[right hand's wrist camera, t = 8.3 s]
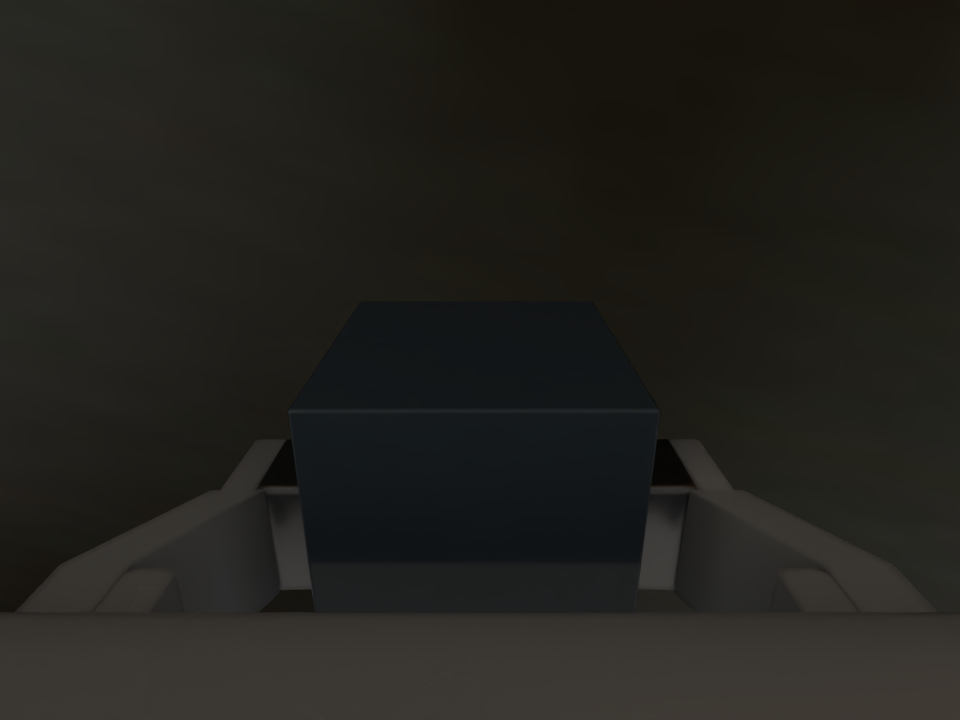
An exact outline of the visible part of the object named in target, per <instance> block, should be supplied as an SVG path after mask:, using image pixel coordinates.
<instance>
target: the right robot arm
mask: <svg viewBox="0 0 960 720" xmlns="http://www.w3.org/2000/svg"><path fill="white" fill-rule="evenodd" d="M297 589H311V582H310V574H309V567H308V559H307V552H306V544H305V537H304V529H303V522H302V514H301V507H300V499H299V491H298V484H297V476H296V469H295V461H294V454H293V446H292V439H290V440H288V439H260V440H256V441H255V442H254V443H253V445H252V446H251V447H250V449H249V450H248V452H247V453H246V454H245V456H244V457H243V459H242V460H241V461H240V463H239V464H238V466H237V467H236V468H235V470H234V471H233V473H232V474H231V475H230V477H229V478H228V480H227V481H226V482H225V484H224V485H223V487H222V488H221V489H220V490H210V491H208V492H206V493H204V494H202V495H200V496H198V497H196V498H194V499H192V500H190V501H188V502H186V503H184V504H182V505H180V506H178V507H176V508H174V509H172V510H170V511H168V512H166V513H164V514H161V515H159V516H157V517H155V518H153V519H151V520H149V521H147V522H145V523H143V524H141V525H139V526H137V527H135V528H133V529H131V530H129V531H127V532H125V533H123V534H121V535H119V536H117V537H115V538H113V539H111V540H109V541H107V542H105V543H103V544H101V545H99V546H97V547H95V548H93V549H91V550H89V551H86V552H84V553H82V554H80V555H78V556H76V557H74V558H72V559H70V560H68V561H66V562H64V563H62V564H60V565H59V566H58V567H57V568H56V569H55V570H54V571H53V572H52V573H51V574H50V576H49V577H48V578H47V579H46V580H45V581H44V582H43V583H42V584H41V585H40V586H39V587H38V588H37V589H36V590H35V591H34V592H33V593H32V594H31V595H30V596H29V598H28V599H27V600H26V601H25V602H24V603H23V604H22V605H21V606H20V607H19V608H18V609H17V610H16V611H15V612H0V720H960V612H937V611H936V610H935V609H934V608H933V607H932V606H931V605H930V603H929V602H928V601H927V600H926V599H925V598H924V597H923V596H922V595H921V594H920V593H919V592H918V591H917V589H916V588H915V587H914V586H913V585H912V584H911V583H910V582H909V581H908V580H907V579H906V578H905V577H904V576H903V574H902V573H901V572H900V571H899V570H898V569H897V568H896V567H895V566H894V565H892V564H890V563H888V562H886V561H884V560H882V559H880V558H878V557H876V556H874V555H872V554H870V553H868V552H866V551H864V550H862V549H860V548H858V547H856V546H854V545H852V544H850V543H848V542H846V541H844V540H842V539H840V538H838V537H836V536H834V535H832V534H830V533H828V532H826V531H824V530H822V529H820V528H818V527H816V526H814V525H812V524H810V523H808V522H806V521H804V520H802V519H800V518H798V517H796V516H794V515H792V514H790V513H788V512H786V511H784V510H782V509H780V508H778V507H776V506H774V505H772V504H770V503H768V502H766V501H764V500H762V499H760V498H758V497H756V496H754V495H752V494H750V493H748V492H746V491H744V490H734V489H733V488H732V486H731V485H730V483H729V482H728V481H727V479H726V478H725V476H724V475H723V474H722V472H721V471H720V469H719V468H718V467H717V465H716V464H715V462H714V461H713V459H712V458H711V457H710V455H709V454H708V452H707V451H706V450H705V448H704V447H703V445H702V444H701V442H700V441H699V440H697V439H694V438H692V439H669V440H668V439H657V443H656V451H655V459H654V467H653V475H652V483H651V491H650V499H649V507H648V515H647V523H646V531H645V539H644V547H643V555H642V563H641V571H640V579H639V587H638V589H657V590H675V591H674V593H676V594H677V595H678V596H679V597H680V598H681V599H682V600H683V601H684V602H685V603H686V604H688V605H689V606H690V607H691V608H692V609H693V610H694V611H695V612H259V611H261V610H262V609H263V608H264V607H265V606H266V605H267V604H268V603H269V602H271V601H272V600H273V599H274V598H275V597H276V596H277V595H278V594H279V593H280V590H297Z"/></svg>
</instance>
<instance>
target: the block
mask: <svg viewBox="0 0 960 720" xmlns="http://www.w3.org/2000/svg"><path fill="white" fill-rule="evenodd" d="M288 416H289V424H290V431H291V439H292V446H293V454H294V461H295V469H296V476H297V484H298V491H299V499H300V507H301V514H302V522H303V529H304V537H305V544H306V552H307V559H308V567H309V574H310V582H311V589H312V597H313V604H314V612H635V611H636V603H637V595H638V587H639V579H640V571H641V563H642V555H643V547H644V539H645V531H646V523H647V515H648V507H649V499H650V491H651V483H652V475H653V467H654V459H655V451H656V443H657V435H658V427H659V419H660V409H659V408H658V406H657V404H656V403H655V401H654V400H653V398H652V396H651V395H650V393H649V392H648V390H647V388H646V387H645V385H644V384H643V382H642V380H641V379H640V377H639V376H638V374H637V372H636V371H635V369H634V368H633V366H632V364H631V363H630V361H629V360H628V358H627V356H626V355H625V353H624V352H623V350H622V348H621V347H620V345H619V344H618V342H617V340H616V339H615V337H614V336H613V334H612V332H611V331H610V329H609V328H608V326H607V324H606V323H605V321H604V320H603V318H602V316H601V315H600V313H599V311H598V310H597V308H596V307H595V305H594V303H593V302H360V303H359V304H358V306H357V307H356V309H355V310H354V312H353V313H352V315H351V316H350V318H349V319H348V321H347V322H346V324H345V325H344V327H343V328H342V330H341V331H340V333H339V334H338V336H337V337H336V339H335V340H334V342H333V343H332V345H331V346H330V348H329V349H328V351H327V353H326V354H325V356H324V357H323V359H322V360H321V362H320V363H319V365H318V366H317V368H316V369H315V371H314V372H313V374H312V375H311V377H310V378H309V380H308V381H307V383H306V384H305V386H304V387H303V389H302V390H301V392H300V393H299V395H298V396H297V398H296V399H295V401H294V402H293V404H292V405H291V407H290V408H289V410H288Z"/></svg>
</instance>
